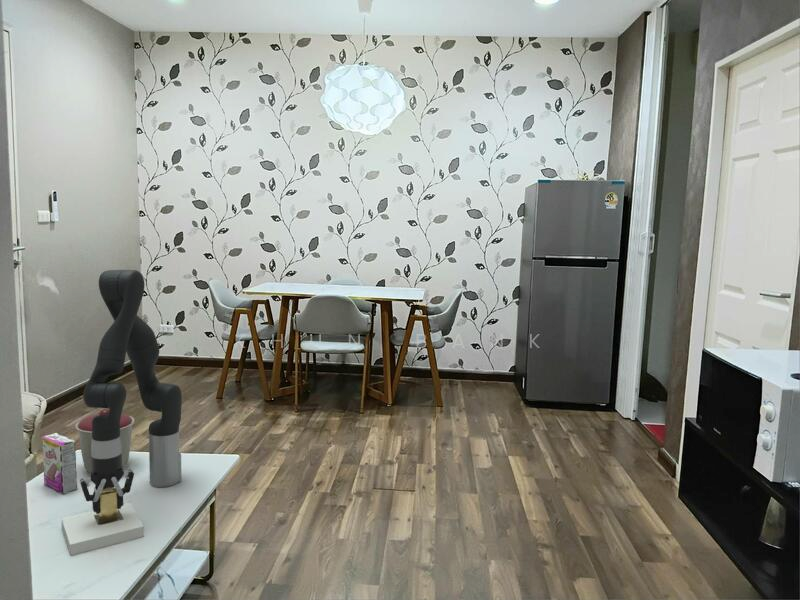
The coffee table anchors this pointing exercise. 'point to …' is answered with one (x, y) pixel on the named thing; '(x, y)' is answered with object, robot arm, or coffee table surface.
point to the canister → (86, 437)
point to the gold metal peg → (108, 506)
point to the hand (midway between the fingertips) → (108, 509)
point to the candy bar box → (59, 463)
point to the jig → (100, 530)
